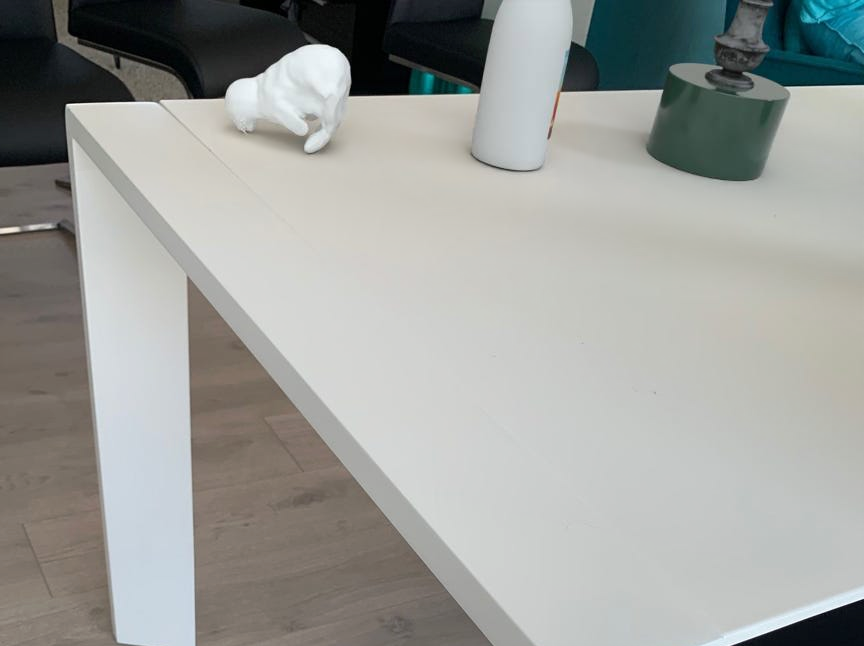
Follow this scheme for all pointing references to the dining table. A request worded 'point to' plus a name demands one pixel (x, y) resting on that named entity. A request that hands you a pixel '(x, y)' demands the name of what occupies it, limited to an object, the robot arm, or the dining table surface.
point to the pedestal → (716, 123)
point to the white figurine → (295, 94)
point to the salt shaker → (741, 45)
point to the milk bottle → (522, 83)
